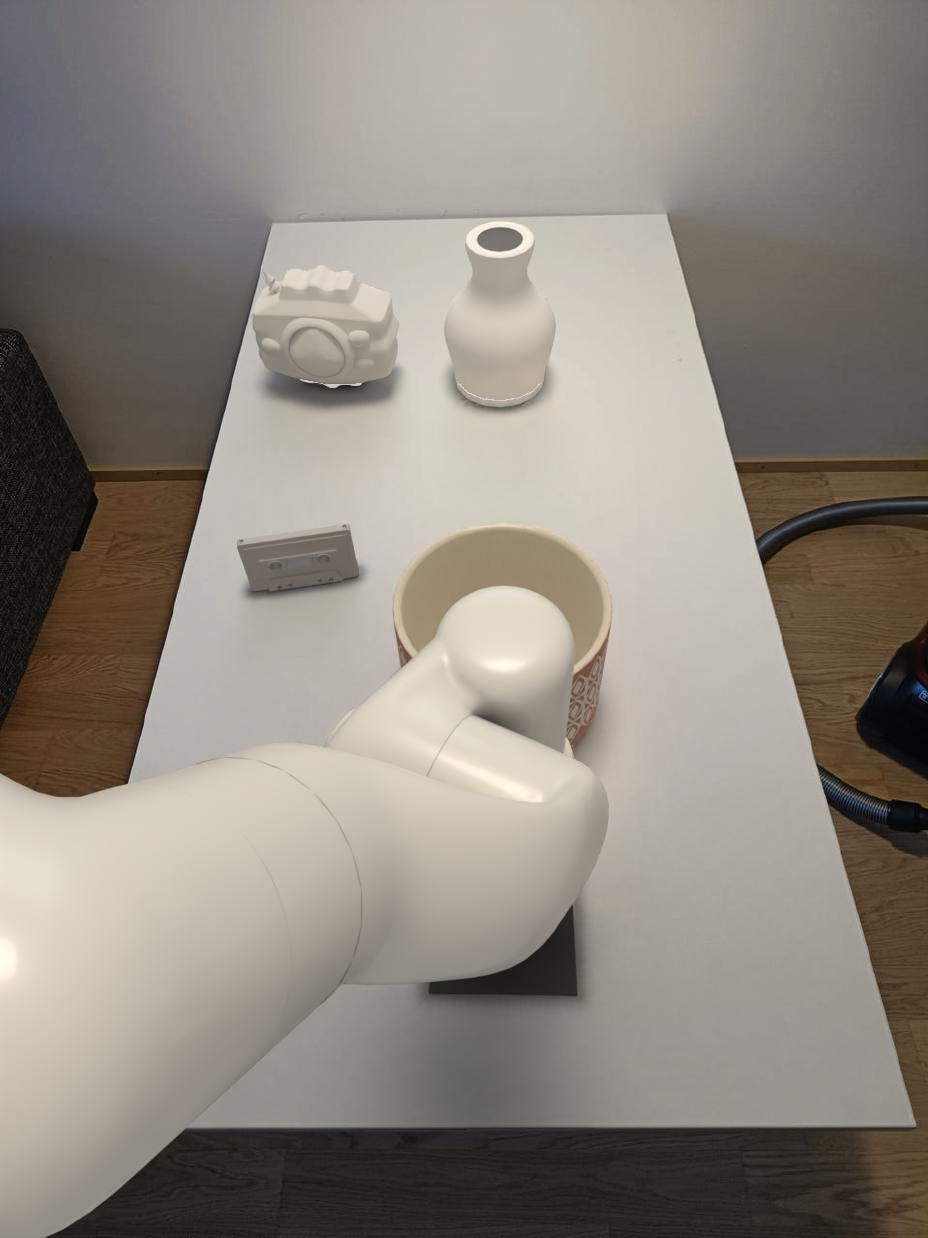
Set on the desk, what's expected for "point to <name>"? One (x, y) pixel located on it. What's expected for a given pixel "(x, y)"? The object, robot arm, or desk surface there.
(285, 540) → the cassette
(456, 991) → the black mat
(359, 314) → the camera
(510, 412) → the desk surface
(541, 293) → the vase
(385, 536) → the desk surface
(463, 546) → the planter
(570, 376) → the desk surface
